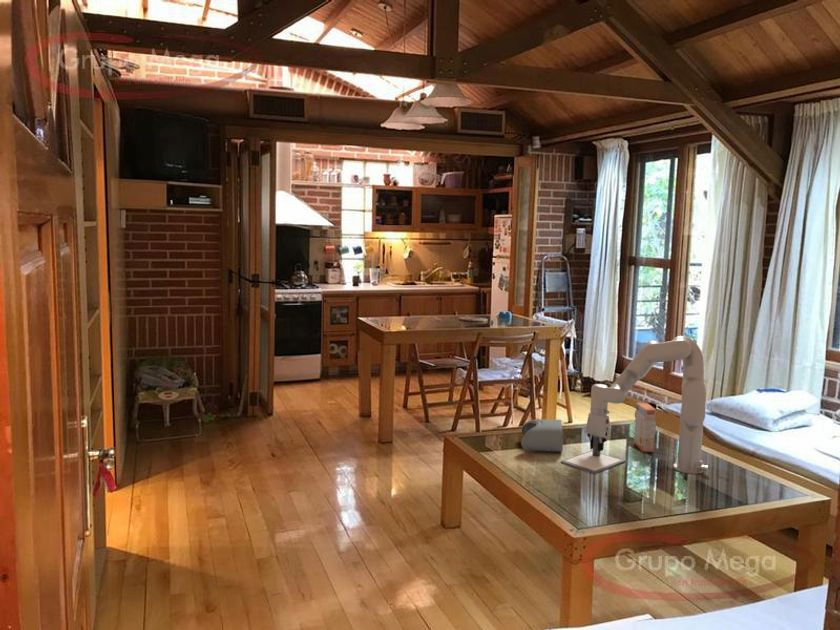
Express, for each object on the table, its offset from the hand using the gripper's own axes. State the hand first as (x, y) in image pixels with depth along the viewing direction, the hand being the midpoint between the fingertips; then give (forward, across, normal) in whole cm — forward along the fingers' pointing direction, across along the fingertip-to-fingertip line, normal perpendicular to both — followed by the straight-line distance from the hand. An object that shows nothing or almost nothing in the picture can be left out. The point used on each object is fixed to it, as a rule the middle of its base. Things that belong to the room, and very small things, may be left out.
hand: (596, 449), depth 320 cm
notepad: (+4, -3, +7) cm, 8 cm away
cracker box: (+4, -6, -31) cm, 32 cm away
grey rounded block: (+4, +25, +9) cm, 27 cm away
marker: (+3, 0, 0) cm, 3 cm away
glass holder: (+4, +7, -53) cm, 54 cm away
